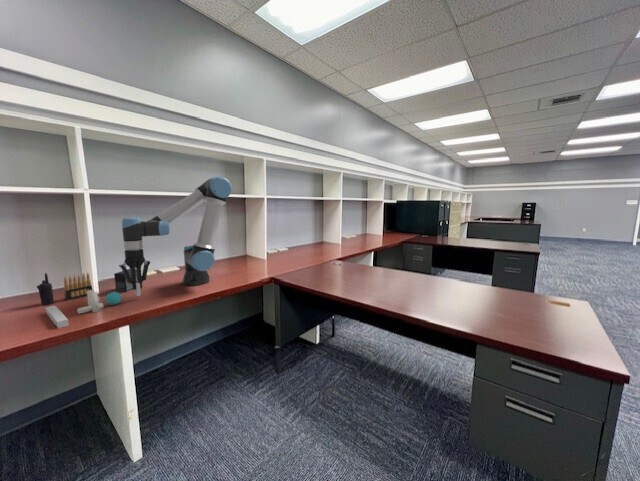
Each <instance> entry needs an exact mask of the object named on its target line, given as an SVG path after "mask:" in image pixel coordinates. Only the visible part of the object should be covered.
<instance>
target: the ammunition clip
mask: <svg viewBox="0 0 640 481" xmlns="http://www.w3.org/2000/svg"><path fill="white" fill-rule="evenodd" d="M68 277H69V278H67V276H65V277H64V279H63V281H64V285H63V286H64V301H66V302H67V301H71V299H72V300H76V299H80V297H81V298H85V297H87V291H88V290H93V286H92V280H91V277H90V274H89V272H87V273H86V275H85V273H82V274H81V275H80V274H78V275H77V276H76V275H75V274H73V278H72V276H71V275H69V276H68Z"/></svg>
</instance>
